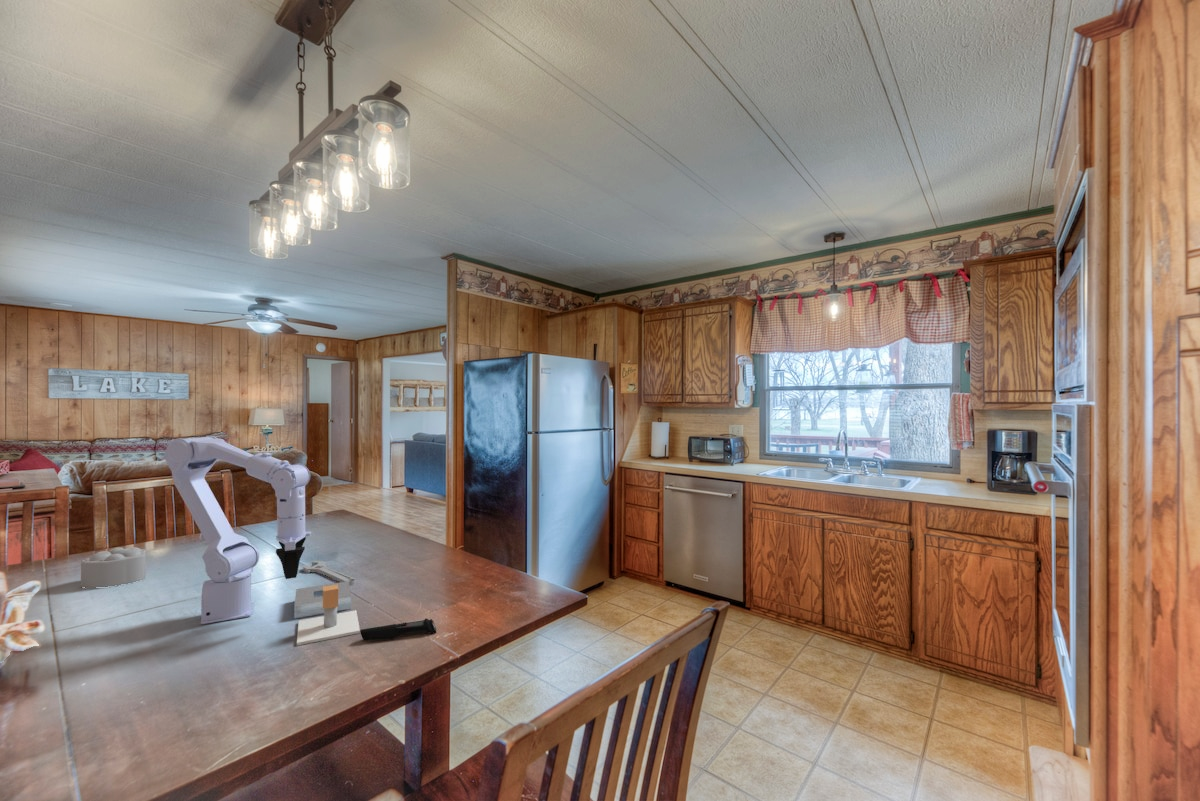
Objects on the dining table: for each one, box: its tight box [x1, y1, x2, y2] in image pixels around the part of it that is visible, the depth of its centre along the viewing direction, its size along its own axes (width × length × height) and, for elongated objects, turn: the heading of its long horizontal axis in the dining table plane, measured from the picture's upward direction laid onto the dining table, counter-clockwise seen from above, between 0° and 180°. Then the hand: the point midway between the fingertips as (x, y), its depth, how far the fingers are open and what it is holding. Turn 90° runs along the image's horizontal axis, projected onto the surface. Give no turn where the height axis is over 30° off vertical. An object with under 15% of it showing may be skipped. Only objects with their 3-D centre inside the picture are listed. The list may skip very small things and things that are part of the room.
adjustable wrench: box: [302, 560, 357, 586], centre depth 146 cm, size 25×6×2 cm, turn 51°
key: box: [323, 584, 338, 628], centre depth 113 cm, size 3×3×8 cm
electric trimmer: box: [359, 618, 437, 642], centre depth 110 cm, size 4×16×3 cm, turn 110°
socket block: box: [293, 581, 352, 620], centre depth 126 cm, size 12×12×3 cm
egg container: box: [80, 546, 147, 588], centre depth 140 cm, size 10×13×9 cm
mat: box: [296, 609, 361, 647], centre depth 113 cm, size 12×12×1 cm
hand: (291, 573), depth 119 cm, fingers open, 7 cm apart
